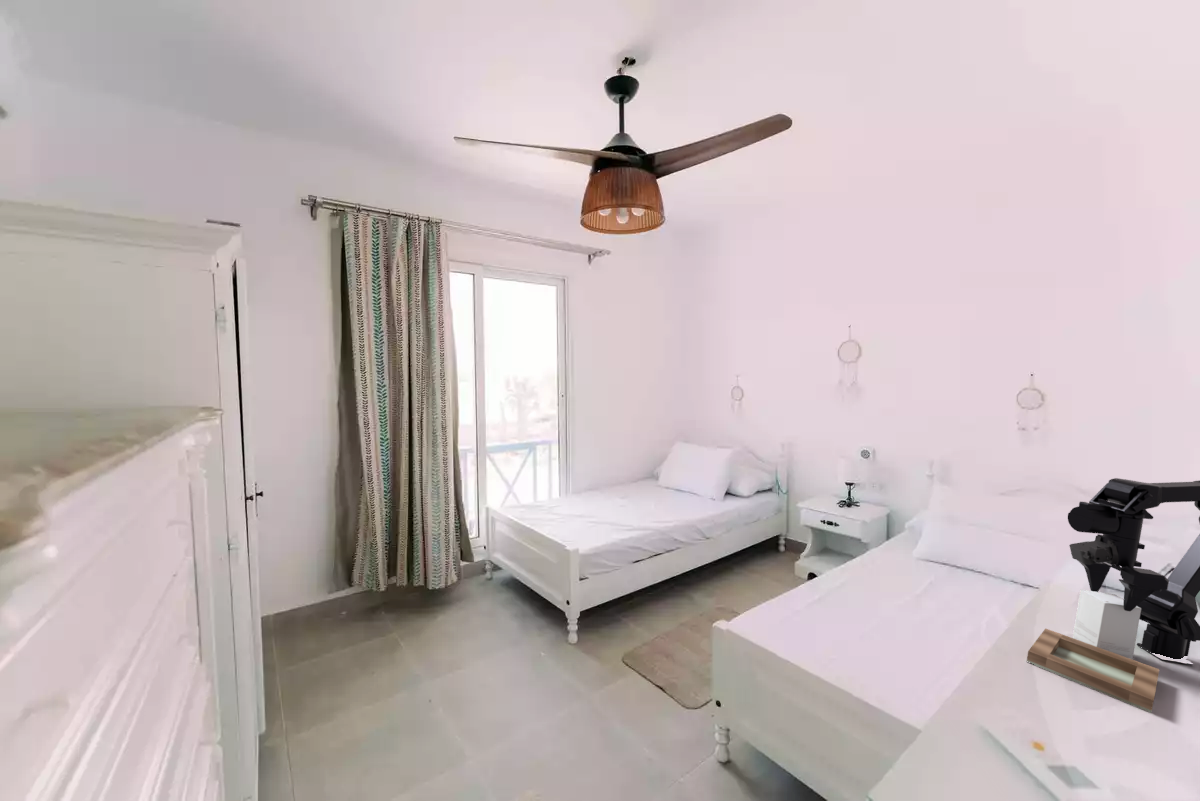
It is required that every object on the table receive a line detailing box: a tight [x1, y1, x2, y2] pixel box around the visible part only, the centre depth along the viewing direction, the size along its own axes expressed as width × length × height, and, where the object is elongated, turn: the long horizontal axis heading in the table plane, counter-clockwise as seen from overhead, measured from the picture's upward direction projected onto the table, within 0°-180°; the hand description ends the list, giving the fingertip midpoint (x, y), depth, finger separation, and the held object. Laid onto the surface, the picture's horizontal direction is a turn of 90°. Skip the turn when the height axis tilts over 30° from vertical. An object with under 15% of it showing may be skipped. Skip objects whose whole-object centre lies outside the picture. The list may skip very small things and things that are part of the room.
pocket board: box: [1026, 628, 1160, 714], centre depth 104 cm, size 18×18×2 cm
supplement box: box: [1071, 589, 1141, 660], centre depth 113 cm, size 7×7×13 cm
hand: (1109, 601), depth 112 cm, fingers open, 9 cm apart
